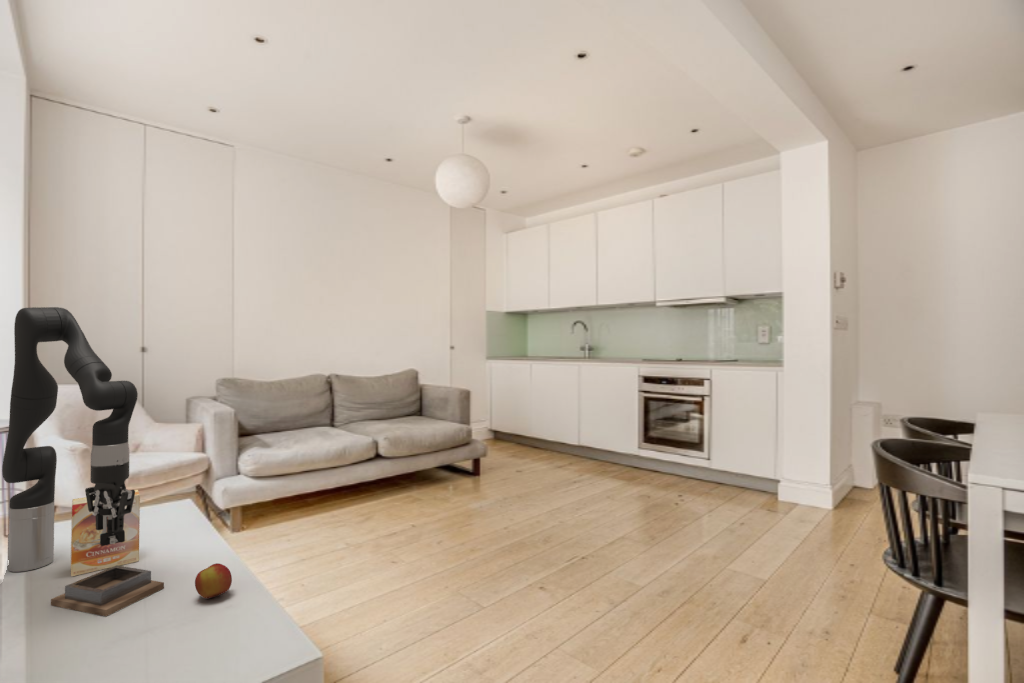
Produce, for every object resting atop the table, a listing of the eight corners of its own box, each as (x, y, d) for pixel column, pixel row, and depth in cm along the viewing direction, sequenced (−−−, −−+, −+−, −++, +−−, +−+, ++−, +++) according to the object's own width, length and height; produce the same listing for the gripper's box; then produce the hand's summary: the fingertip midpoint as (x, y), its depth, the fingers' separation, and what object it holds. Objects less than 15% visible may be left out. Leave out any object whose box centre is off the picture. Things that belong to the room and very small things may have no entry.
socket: (64, 598, 119) (65, 586, 119) (116, 576, 131) (116, 565, 131) (101, 605, 116) (101, 592, 116) (150, 582, 128) (151, 570, 128)
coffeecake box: (70, 577, 134) (71, 504, 134) (70, 568, 139) (71, 498, 140) (139, 561, 144) (140, 493, 144) (137, 554, 149) (138, 488, 149)
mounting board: (50, 605, 119) (50, 599, 119) (112, 579, 133) (112, 573, 133) (105, 616, 114) (106, 610, 114) (163, 588, 128) (163, 582, 128)
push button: (92, 550, 119) (91, 508, 120) (91, 544, 123) (90, 503, 124) (127, 542, 124) (126, 502, 124) (124, 537, 128) (124, 498, 128)
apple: (225, 586, 129) (226, 555, 129) (235, 597, 123) (235, 564, 123) (191, 596, 123) (191, 564, 124) (199, 608, 118) (200, 574, 118)
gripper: (72, 462, 122) (71, 532, 122) (115, 466, 118) (115, 539, 118) (105, 456, 130) (104, 522, 129) (147, 460, 126) (146, 528, 125)
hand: (109, 529), depth 124 cm, fingers closed on push button, 4 cm apart
